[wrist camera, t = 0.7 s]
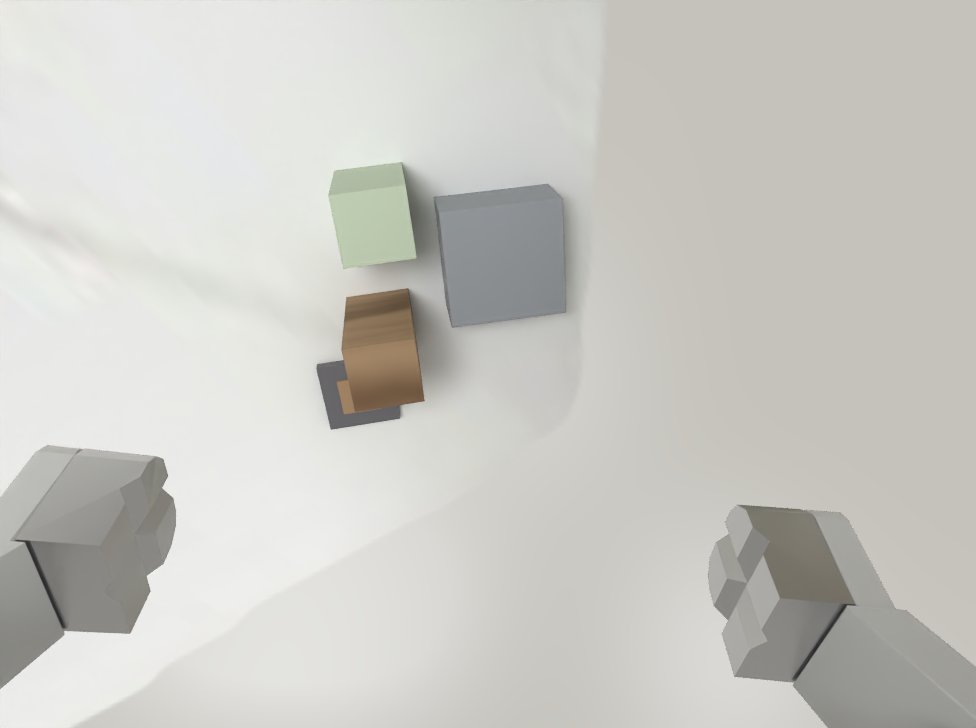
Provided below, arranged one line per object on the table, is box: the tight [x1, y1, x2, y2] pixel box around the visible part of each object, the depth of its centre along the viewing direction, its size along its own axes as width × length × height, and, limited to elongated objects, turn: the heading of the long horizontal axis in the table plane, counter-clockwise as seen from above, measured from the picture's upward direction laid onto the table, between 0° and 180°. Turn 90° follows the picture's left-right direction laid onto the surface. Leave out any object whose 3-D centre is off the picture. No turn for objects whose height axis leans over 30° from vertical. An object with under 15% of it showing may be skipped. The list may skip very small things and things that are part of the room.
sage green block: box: [328, 162, 417, 269], centre depth 50 cm, size 5×5×8 cm
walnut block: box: [342, 289, 424, 412], centre depth 54 cm, size 5×5×10 cm
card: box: [317, 360, 400, 429], centre depth 60 cm, size 6×6×1 cm
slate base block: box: [434, 184, 566, 327], centre depth 55 cm, size 9×9×5 cm
